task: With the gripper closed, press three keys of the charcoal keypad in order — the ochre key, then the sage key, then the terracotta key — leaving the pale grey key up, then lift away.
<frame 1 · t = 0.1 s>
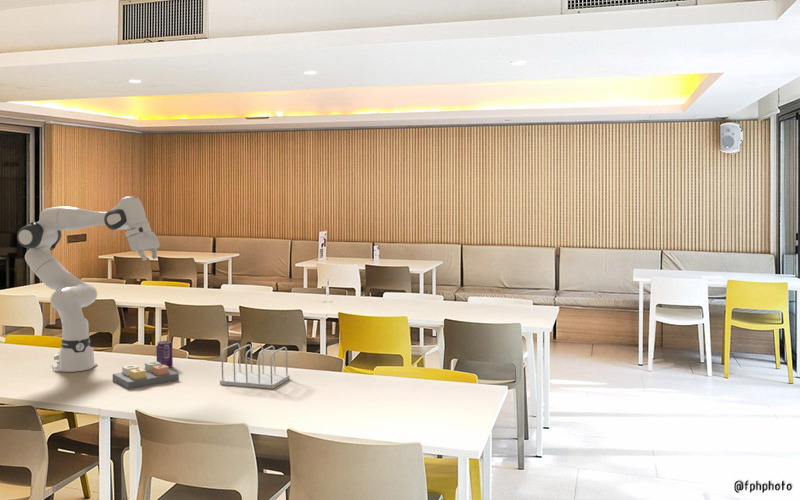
hand: (150, 259, 308), 52 cm above the table, tool tilted 20°, fingers open, 8 cm apart
file sorter: (255, 382, 297), on the table
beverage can: (164, 367, 320), on the table
sage key: (153, 366, 303), point 5 cm above the table, slide at 0.0 cm
ochre key: (137, 373, 290), point 5 cm above the table, slide at 0.0 cm
terracotta key: (160, 369, 297), point 5 cm above the table, slide at 0.0 cm
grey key: (130, 370, 296), point 5 cm above the table, slide at 0.0 cm
keypad base: (145, 380, 297), on the table
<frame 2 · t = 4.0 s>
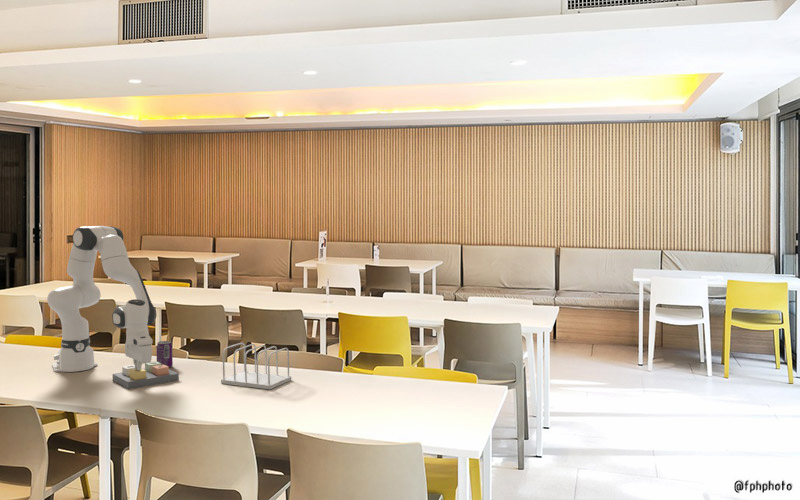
hand: (138, 369, 290), 6 cm above the table, tool pointing down, fingers closed, pressing on ochre key
ochre key: (137, 373, 290), point 5 cm above the table, slide at 0.0 cm, touching gripper
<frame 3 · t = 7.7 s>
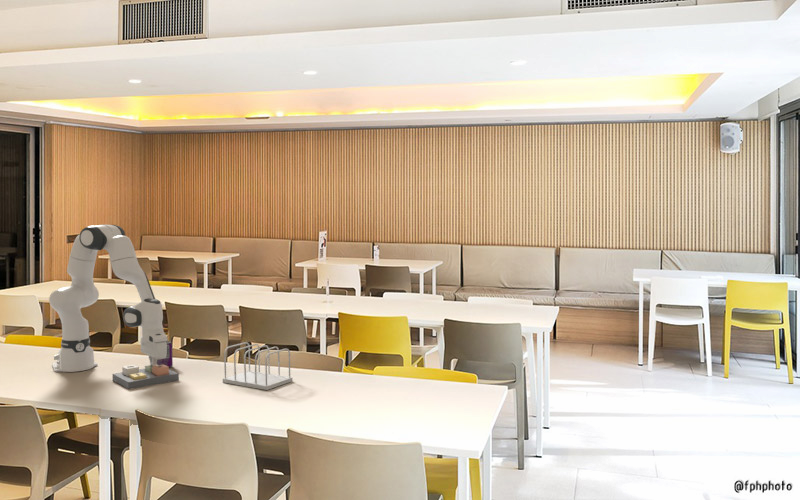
hand: (153, 365, 303), 5 cm above the table, tool pointing down, fingers closed, pressing on sage key
sage key: (153, 369, 303), point 3 cm above the table, slide at 1.4 cm, touching gripper
ochre key: (137, 378, 291), point 3 cm above the table, slide at 1.9 cm
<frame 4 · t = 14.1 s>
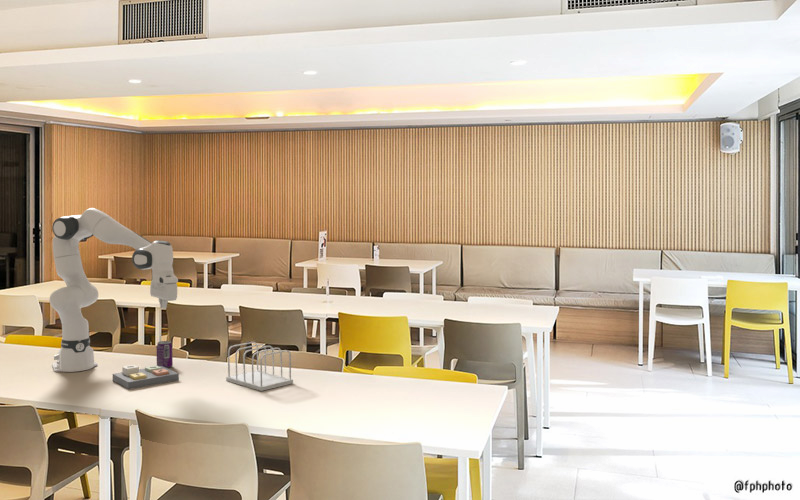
hand: (163, 308, 299), 31 cm above the table, tool pointing down, fingers closed
sage key: (153, 370, 303), point 3 cm above the table, slide at 1.9 cm
terracotta key: (160, 374, 297), point 3 cm above the table, slide at 1.9 cm
at the end: ochre key slide at 1.9 cm; terracotta key slide at 1.9 cm; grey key slide at 0.0 cm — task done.
